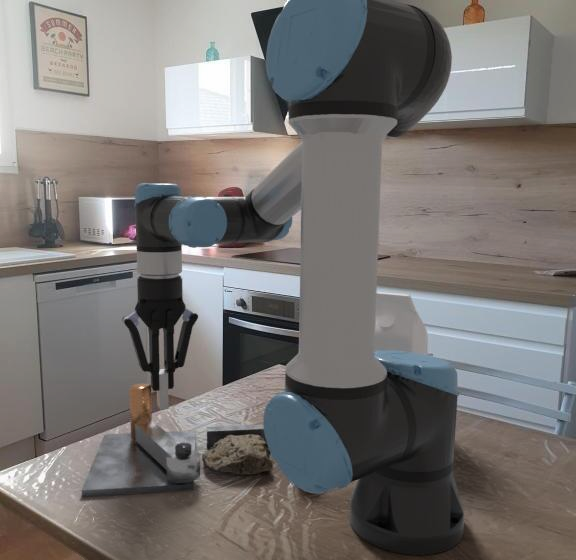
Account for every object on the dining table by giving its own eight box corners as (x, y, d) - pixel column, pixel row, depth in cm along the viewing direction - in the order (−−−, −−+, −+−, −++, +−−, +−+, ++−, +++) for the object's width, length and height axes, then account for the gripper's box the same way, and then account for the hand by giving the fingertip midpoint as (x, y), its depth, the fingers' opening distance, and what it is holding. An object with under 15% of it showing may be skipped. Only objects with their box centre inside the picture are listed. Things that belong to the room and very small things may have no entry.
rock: (203, 452, 101) (202, 428, 100) (267, 449, 102) (267, 425, 101) (201, 483, 90) (200, 456, 90) (273, 479, 92) (273, 453, 91)
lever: (206, 477, 88) (205, 420, 87) (175, 486, 86) (174, 427, 84) (151, 429, 106) (150, 381, 104) (124, 436, 103) (122, 386, 101)
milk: (427, 426, 112) (434, 292, 108) (411, 449, 102) (417, 302, 98) (368, 415, 118) (372, 286, 114) (346, 436, 108) (350, 295, 104)
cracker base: (313, 483, 90) (313, 439, 89) (81, 496, 85) (79, 451, 84) (293, 431, 110) (294, 394, 109) (104, 439, 105) (103, 402, 104)
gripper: (191, 270, 106) (192, 395, 110) (117, 273, 101) (121, 404, 105) (203, 276, 100) (204, 408, 103) (124, 280, 94) (129, 420, 98)
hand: (162, 406), depth 104 cm, fingers closed
